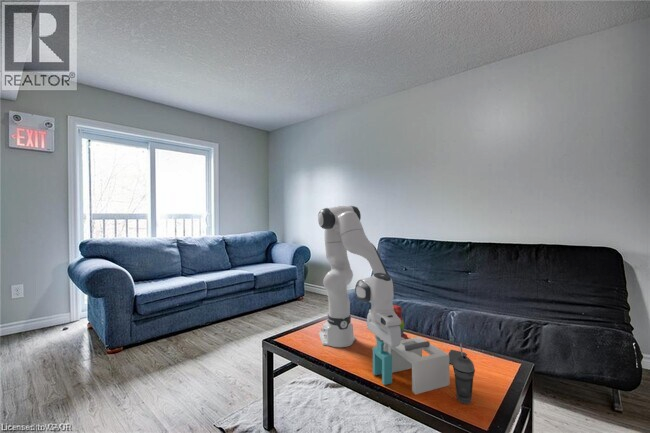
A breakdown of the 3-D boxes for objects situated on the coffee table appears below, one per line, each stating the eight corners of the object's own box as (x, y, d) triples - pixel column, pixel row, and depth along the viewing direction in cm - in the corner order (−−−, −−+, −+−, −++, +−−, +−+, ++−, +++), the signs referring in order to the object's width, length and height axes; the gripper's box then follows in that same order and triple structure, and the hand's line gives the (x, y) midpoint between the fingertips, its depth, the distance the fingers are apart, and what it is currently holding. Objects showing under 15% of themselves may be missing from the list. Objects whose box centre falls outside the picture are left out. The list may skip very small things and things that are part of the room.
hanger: (372, 373, 123) (372, 337, 123) (380, 371, 124) (380, 336, 124) (384, 384, 114) (384, 346, 114) (392, 383, 116) (392, 345, 116)
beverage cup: (465, 408, 101) (464, 350, 101) (448, 396, 107) (447, 342, 107) (480, 403, 104) (479, 346, 104) (462, 391, 110) (462, 338, 110)
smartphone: (467, 352, 140) (461, 365, 128) (467, 354, 140) (461, 367, 128) (450, 349, 145) (443, 361, 132) (450, 351, 145) (443, 363, 132)
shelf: (388, 370, 126) (388, 338, 126) (419, 363, 131) (418, 332, 131) (415, 394, 109) (415, 356, 109) (449, 385, 115) (449, 349, 115)
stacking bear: (408, 337, 160) (408, 304, 160) (401, 344, 152) (401, 309, 151) (389, 332, 166) (389, 301, 166) (382, 339, 158) (382, 305, 158)
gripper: (363, 307, 128) (363, 339, 128) (389, 324, 108) (389, 361, 109) (375, 305, 130) (375, 337, 130) (403, 321, 111) (403, 358, 111)
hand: (382, 348), depth 119 cm, fingers closed on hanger, 3 cm apart
